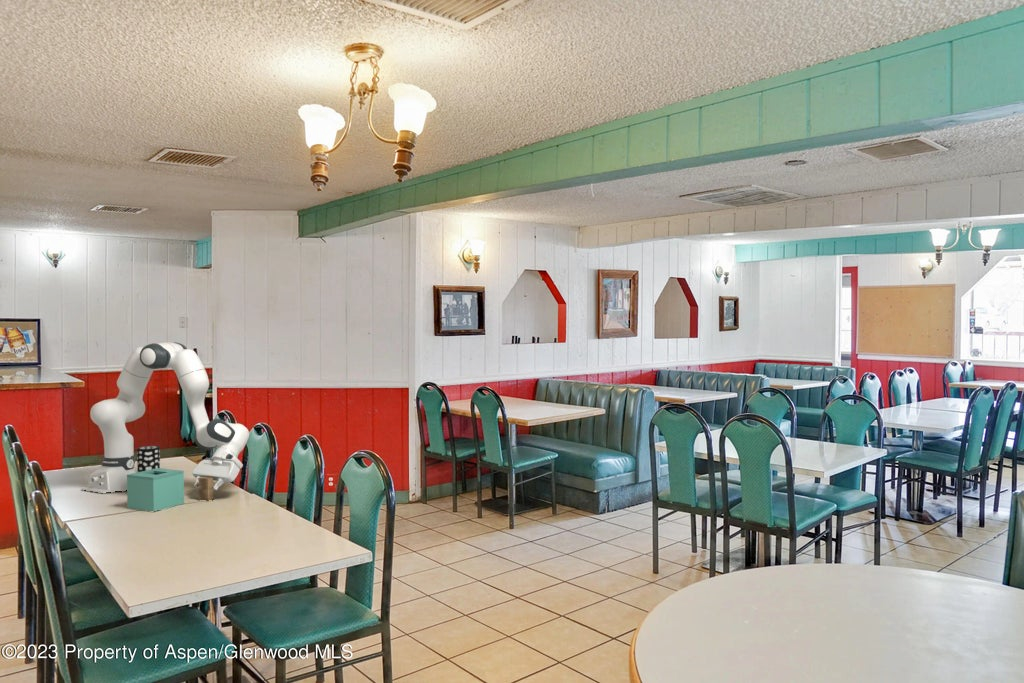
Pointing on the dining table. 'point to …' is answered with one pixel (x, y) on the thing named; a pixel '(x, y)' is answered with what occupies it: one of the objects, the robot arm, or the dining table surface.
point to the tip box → (155, 489)
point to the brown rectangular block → (205, 488)
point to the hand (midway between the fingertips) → (205, 488)
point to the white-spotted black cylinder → (148, 458)
